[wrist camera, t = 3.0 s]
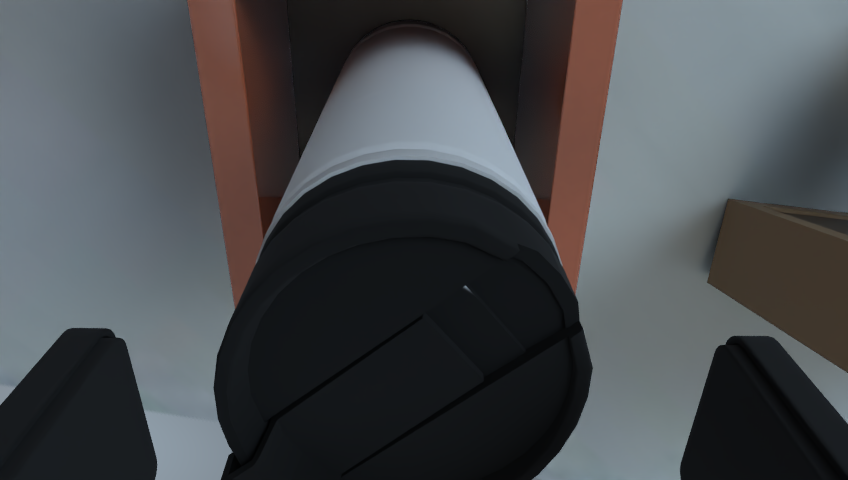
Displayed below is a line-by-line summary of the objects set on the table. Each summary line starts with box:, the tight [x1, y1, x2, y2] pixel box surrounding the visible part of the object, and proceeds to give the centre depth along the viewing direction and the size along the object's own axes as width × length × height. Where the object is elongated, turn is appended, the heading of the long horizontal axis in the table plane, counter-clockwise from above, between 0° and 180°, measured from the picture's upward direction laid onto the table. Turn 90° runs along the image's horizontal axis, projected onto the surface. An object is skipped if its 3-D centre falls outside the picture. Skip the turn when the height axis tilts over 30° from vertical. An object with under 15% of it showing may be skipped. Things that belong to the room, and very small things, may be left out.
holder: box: [187, 0, 623, 309], centre depth 23 cm, size 13×13×8 cm
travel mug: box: [214, 20, 593, 480], centre depth 18 cm, size 6×7×20 cm
